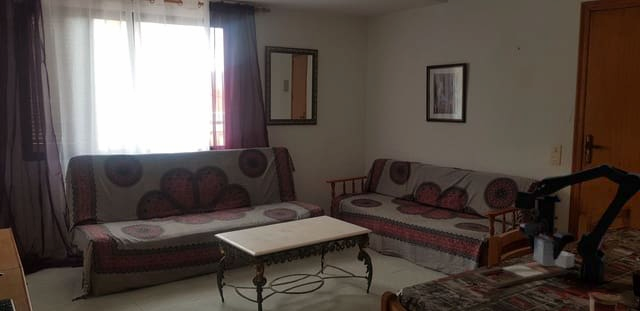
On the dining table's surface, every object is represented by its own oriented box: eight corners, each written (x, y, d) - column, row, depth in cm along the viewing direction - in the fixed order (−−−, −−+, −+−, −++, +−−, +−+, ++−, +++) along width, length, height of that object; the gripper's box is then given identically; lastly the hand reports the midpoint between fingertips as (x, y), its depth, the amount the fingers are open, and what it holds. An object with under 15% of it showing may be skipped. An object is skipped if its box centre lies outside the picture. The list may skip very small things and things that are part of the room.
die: (573, 266, 177) (574, 254, 177) (565, 268, 175) (566, 256, 175) (562, 263, 181) (563, 251, 181) (554, 264, 179) (555, 252, 179)
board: (567, 273, 170) (567, 269, 170) (497, 287, 156) (497, 284, 156) (538, 263, 181) (539, 259, 181) (471, 275, 167) (471, 272, 167)
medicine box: (555, 266, 169) (556, 242, 168) (542, 266, 169) (543, 242, 169) (545, 259, 177) (546, 236, 176) (532, 259, 177) (534, 236, 176)
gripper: (509, 209, 176) (507, 251, 178) (553, 221, 160) (550, 267, 161) (531, 207, 181) (528, 247, 183) (576, 217, 164) (573, 262, 166)
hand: (544, 255), depth 173 cm, fingers closed on medicine box, 9 cm apart
